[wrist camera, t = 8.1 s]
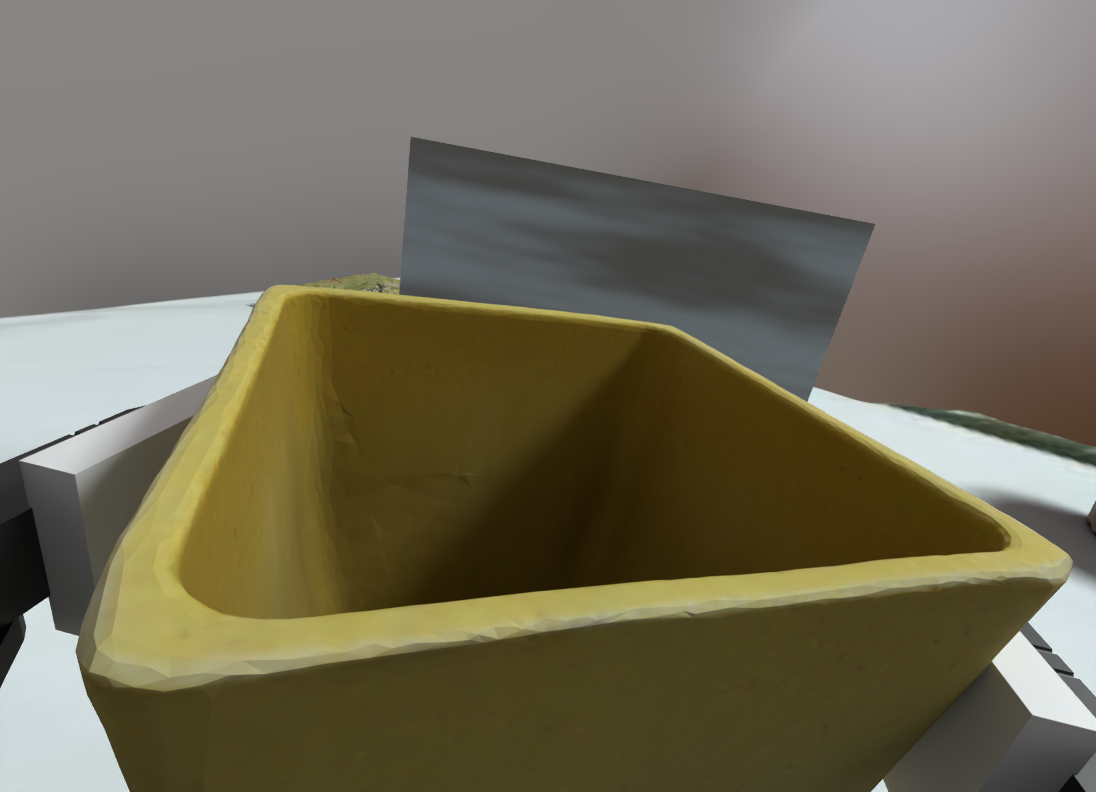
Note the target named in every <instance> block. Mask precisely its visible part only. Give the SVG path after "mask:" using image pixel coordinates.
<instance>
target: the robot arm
mask: <svg viewBox="0 0 1096 792" xmlns="http://www.w3.org/2000/svg"><path fill="white" fill-rule="evenodd" d="M216 377H217V375H216V376H214V377H211V378H209V379H207V380H204V381H202V382H200V383H197V384H195V385H193V386H191V387H188V388H186V389H184V390H181V391H179V392H177V393H174V394H172V395H170V396H167V397H165V398H163V399H160V400H158V401H156V402H153V403H151V404H149V405H146V406H142V407H137V408H133V409H128V410H126V411H123V412H121V413H119V414H116V415H114V416H112V417H109V418H107V419H104V420H102V421H100V422H99V424H98V425H95V424H93V425H90V426H88V427H86V428H83V429H81V430H78V431H76V432H75V434H74V435H67V436H64V437H62V438H60V439H57V440H55V441H52V442H50V443H48V444H45V445H43V446H41V447H38V448H36V449H34V450H31V451H29V452H26V453H24V454H22V455H19V456H17V457H15V458H12V459H10V460H8V461H5V462H3V463H0V687H1V685H2V683H3V681H4V679H5V677H6V675H7V673H8V671H9V669H10V667H11V665H12V663H13V661H14V659H15V657H16V655H17V653H18V651H19V649H20V647H21V645H22V643H23V641H24V637H25V631H26V624H25V620H24V616H23V614H24V613H25V612H27V611H28V610H30V609H31V608H32V607H34V606H35V605H37V604H38V603H40V602H41V601H43V600H44V599H46V598H47V597H49V601H50V606H51V610H52V615H53V620H54V624H55V629H56V630H59V631H63V632H66V633H70V634H74V635H77V636H79V635H80V631H81V627H82V623H83V620H84V617H85V614H86V612H87V609H88V606H89V603H90V601H91V598H92V595H93V593H94V591H95V588H96V586H97V584H98V581H99V579H100V577H101V574H102V572H103V570H104V567H105V565H106V563H107V561H108V559H109V557H110V555H111V553H112V550H113V548H114V546H115V544H116V542H117V540H118V538H119V536H120V535H121V533H122V532H123V530H124V529H125V527H126V526H127V524H128V523H129V521H130V520H131V518H132V517H133V515H134V514H135V512H136V510H137V509H138V507H139V506H140V504H141V502H142V500H143V498H144V495H145V494H146V492H147V490H148V489H149V487H150V485H151V484H152V482H153V480H154V479H155V477H156V476H157V474H158V473H159V472H160V470H161V468H162V466H163V464H164V462H165V461H166V460H167V458H168V457H169V455H170V454H171V453H172V450H173V448H174V446H175V444H176V442H177V441H178V439H179V437H180V436H181V434H182V433H183V431H184V430H185V428H186V427H187V425H188V424H189V422H190V421H191V419H192V418H193V416H194V415H195V413H196V411H197V410H198V408H199V407H200V405H201V403H202V402H203V400H204V399H205V397H206V395H207V393H208V391H209V389H210V387H211V386H212V384H213V383H214V381H215V379H216ZM1073 674H1074V673H1073V672H1072V670H1071V669H1070V668H1069V667H1068V666H1067V665H1066V664H1065V663H1064V662H1063V661H1062V659H1061V658H1060V657H1059V656H1058V655H1056V654H1052V648H1051V647H1050V646H1049V645H1048V644H1047V643H1046V642H1045V641H1044V640H1043V638H1042V637H1041V636H1040V635H1039V634H1038V633H1037V632H1036V631H1035V630H1034V629H1033V627H1032V626H1031V625H1030V624H1029V623H1028V622H1027V624H1026V625H1025V626H1024V627H1023V628H1022V629H1021V630H1020V631H1019V632H1018V633H1017V634H1016V635H1015V636H1014V638H1013V639H1012V640H1011V641H1010V642H1009V643H1008V644H1007V645H1006V646H1005V647H1004V648H1003V649H1002V651H1001V652H1000V653H999V654H998V655H997V656H996V657H995V658H994V659H993V660H992V661H991V663H990V664H989V665H988V666H987V667H986V668H985V669H984V670H983V671H982V672H981V674H980V675H979V676H978V677H977V678H976V679H975V680H974V681H973V682H972V683H971V685H970V686H969V687H968V688H967V689H966V690H965V691H964V692H963V693H962V694H961V695H960V696H959V697H958V699H957V700H956V701H955V702H954V703H953V704H952V705H951V706H950V707H949V708H948V709H947V710H946V711H945V712H944V714H943V715H942V716H941V717H940V718H939V719H938V720H937V721H936V722H935V723H934V724H933V725H932V726H931V727H930V729H929V730H928V731H927V732H926V733H925V734H924V735H923V736H922V737H921V738H920V739H919V740H918V741H917V742H916V744H915V745H914V746H913V747H912V748H911V749H910V750H909V751H908V752H907V753H906V754H905V755H904V756H903V758H902V759H901V760H900V761H899V762H898V763H897V764H896V765H895V766H894V767H893V768H892V769H891V770H890V772H889V773H888V774H887V775H886V776H885V777H884V778H883V780H884V782H885V784H886V787H887V789H888V792H1096V697H1095V696H1094V695H1093V694H1092V692H1091V691H1090V690H1089V689H1088V688H1087V687H1086V686H1085V685H1084V684H1083V683H1082V681H1081V680H1080V679H1076V678H1074V676H1073Z"/></svg>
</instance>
